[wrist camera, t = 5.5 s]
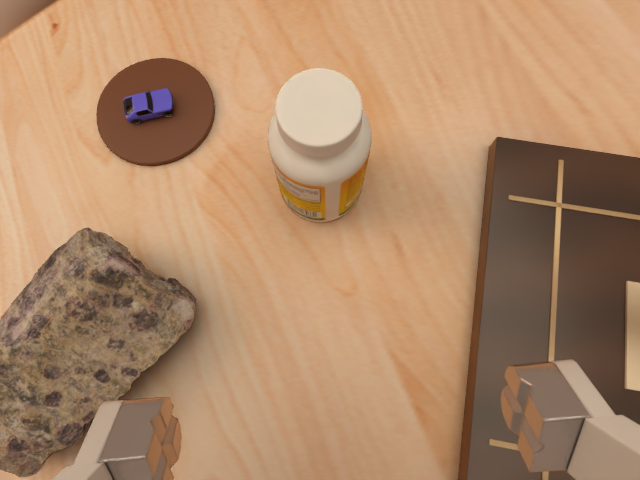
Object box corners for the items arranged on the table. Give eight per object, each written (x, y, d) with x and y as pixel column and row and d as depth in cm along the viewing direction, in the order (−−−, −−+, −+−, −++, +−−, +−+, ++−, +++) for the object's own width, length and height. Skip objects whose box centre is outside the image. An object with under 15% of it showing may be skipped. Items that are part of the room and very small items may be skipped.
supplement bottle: (290, 232, 29) (272, 173, 20) (272, 157, 30) (246, 69, 21) (372, 212, 29) (392, 144, 20) (350, 139, 30) (359, 43, 21)
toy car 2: (224, 150, 30) (218, 139, 29) (106, 177, 30) (95, 168, 29) (203, 50, 32) (197, 36, 31) (92, 75, 32) (81, 62, 31)
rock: (218, 281, 28) (67, 208, 27) (197, 297, 22) (6, 205, 22) (125, 467, 28) (-26, 399, 28) (82, 531, 23) (-111, 447, 22)
